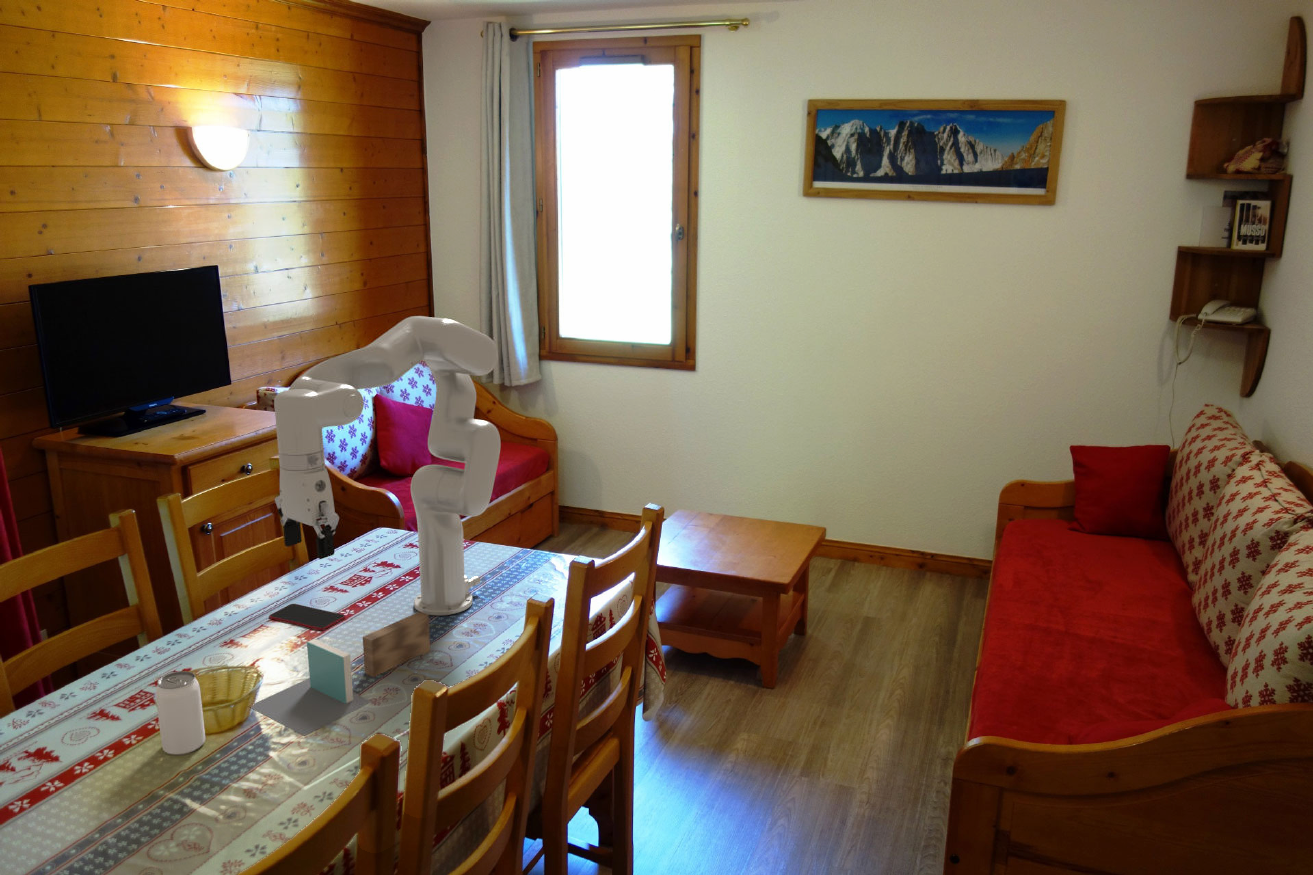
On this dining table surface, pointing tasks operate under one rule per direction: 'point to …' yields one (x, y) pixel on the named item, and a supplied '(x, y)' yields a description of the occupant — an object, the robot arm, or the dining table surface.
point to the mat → (306, 707)
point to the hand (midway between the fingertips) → (309, 550)
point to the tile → (330, 670)
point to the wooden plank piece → (396, 643)
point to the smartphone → (307, 617)
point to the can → (180, 713)
